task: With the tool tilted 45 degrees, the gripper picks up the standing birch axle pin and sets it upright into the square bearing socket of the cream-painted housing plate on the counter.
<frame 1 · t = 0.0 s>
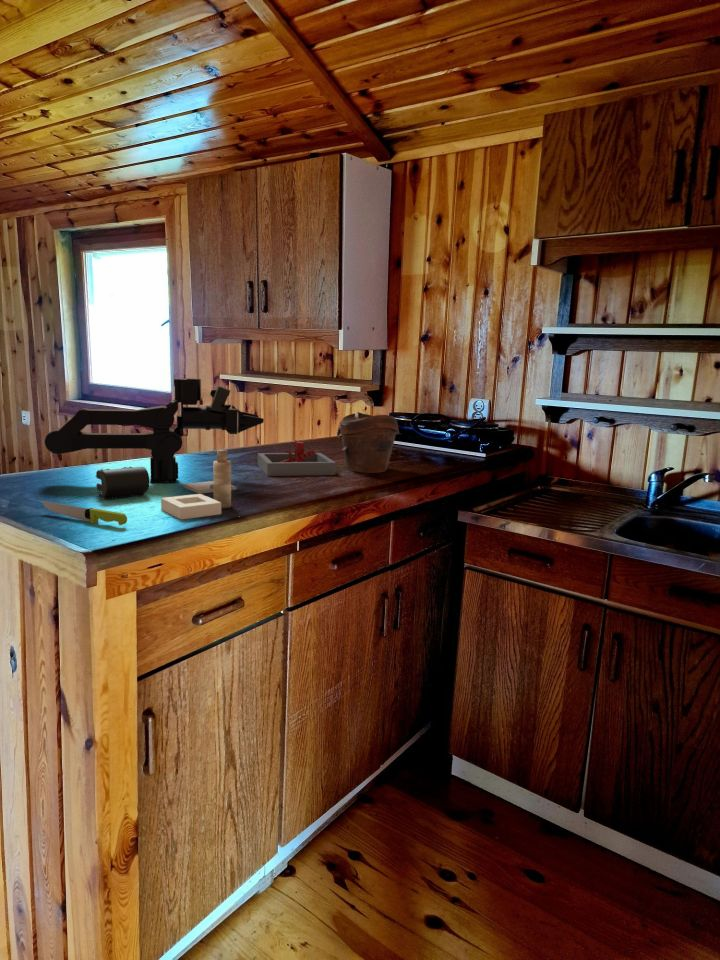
hand: (260, 418, 169), 17 cm above the counter, tool horizontal, fingers open, 9 cm apart
birch pin: (222, 506, 139), on the counter
gray square tray: (295, 469, 189), on the counter
bearing plate: (191, 511, 133), on the counter
kitchen knife: (82, 522, 123), on the counter
brown tapered pot: (365, 470, 194), on the counter
end cap: (122, 497, 145), on the counter
lid panel: (209, 488, 157), on the counter
diorama: (294, 468, 189), touching gray square tray
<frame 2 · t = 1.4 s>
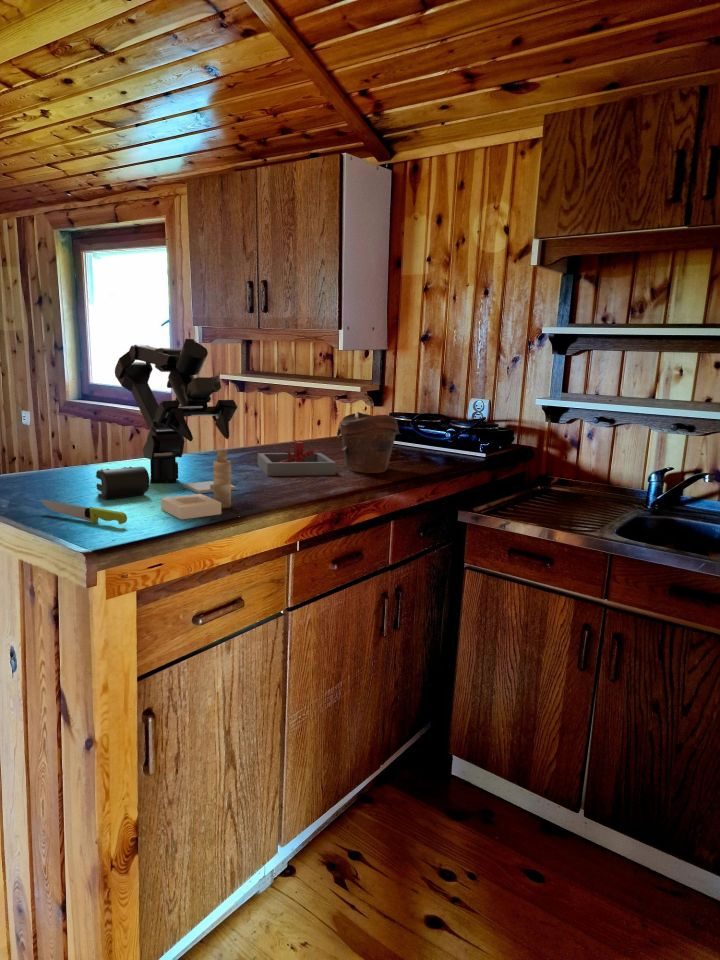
hand: (210, 439, 144), 14 cm above the counter, tool tilted 45°, fingers open, 9 cm apart
nothing on the counter moved.
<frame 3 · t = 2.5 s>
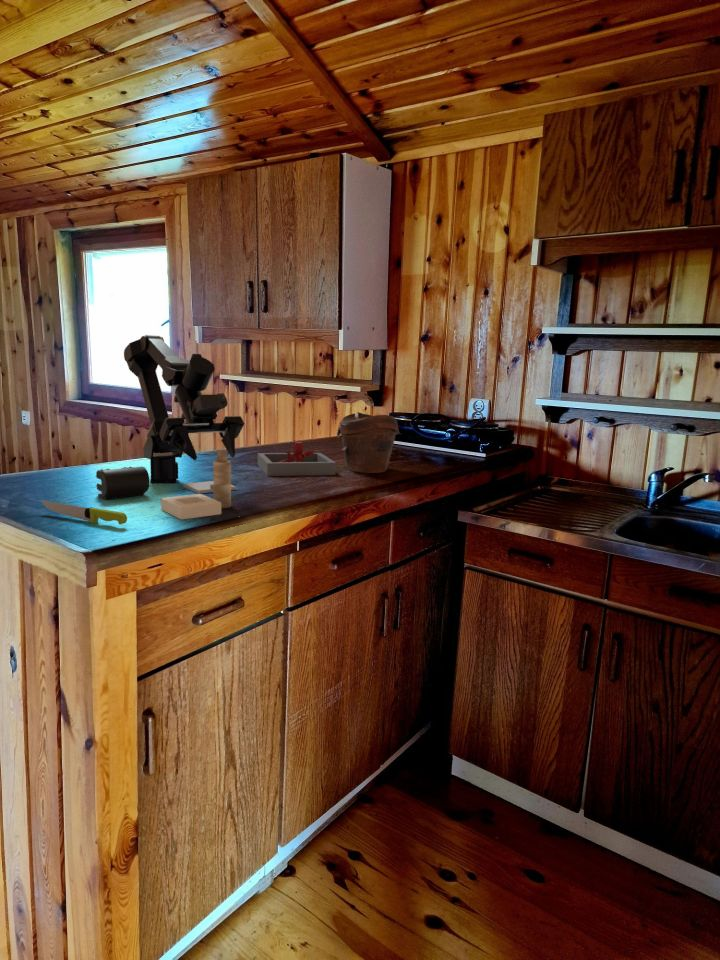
hand: (215, 457, 140), 10 cm above the counter, tool tilted 45°, fingers open, 9 cm apart
nothing on the counter moved.
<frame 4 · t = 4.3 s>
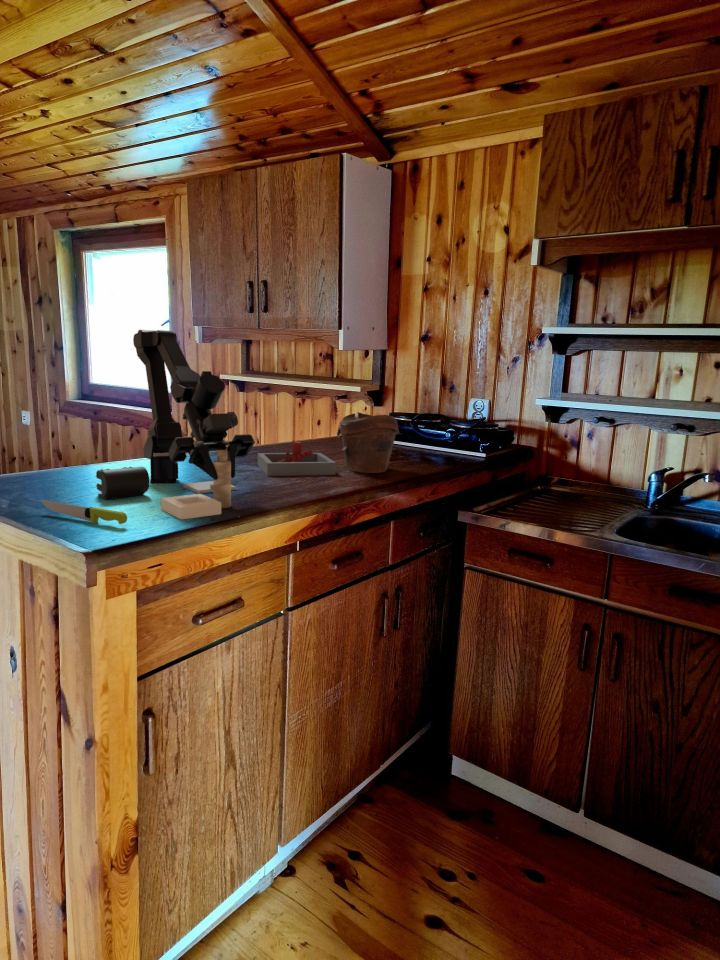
hand: (225, 478, 137), 7 cm above the counter, tool tilted 45°, fingers closed on birch pin, 4 cm apart
birch pin: (222, 506, 139), on the counter, touching gripper
everything else where it was.
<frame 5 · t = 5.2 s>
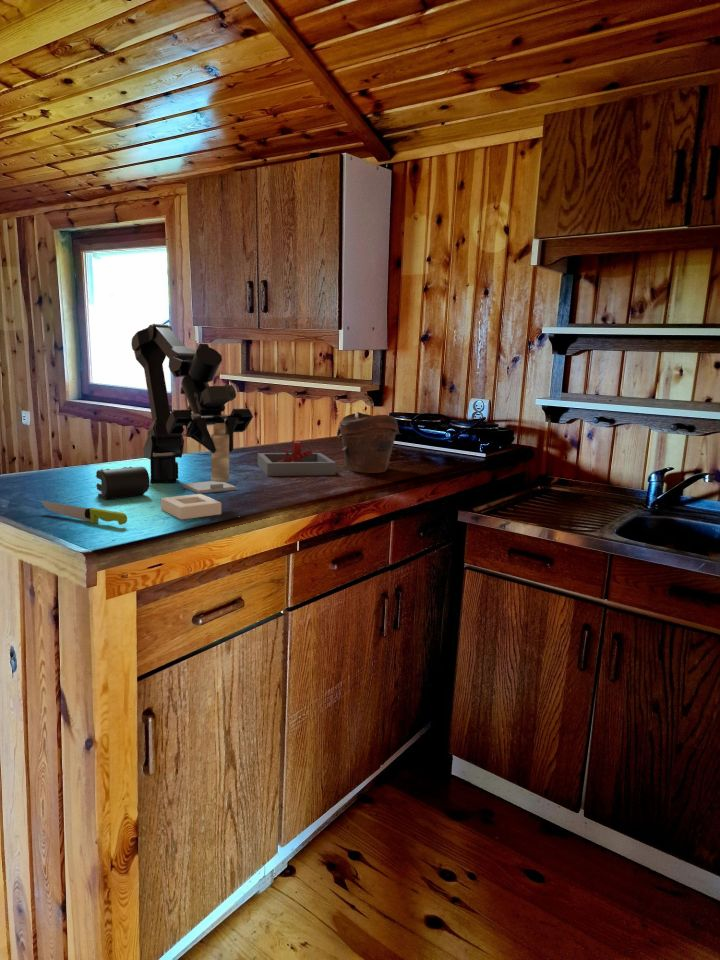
hand: (223, 451, 136), 13 cm above the counter, tool tilted 45°, fingers closed on birch pin, 4 cm apart
birch pin: (220, 480, 138), point 6 cm above the counter, touching gripper
everything else where it was.
when the fingers open (8 cm above the counter, at t = 6.9 s): birch pin drops 1 cm, resting in bearing plate.
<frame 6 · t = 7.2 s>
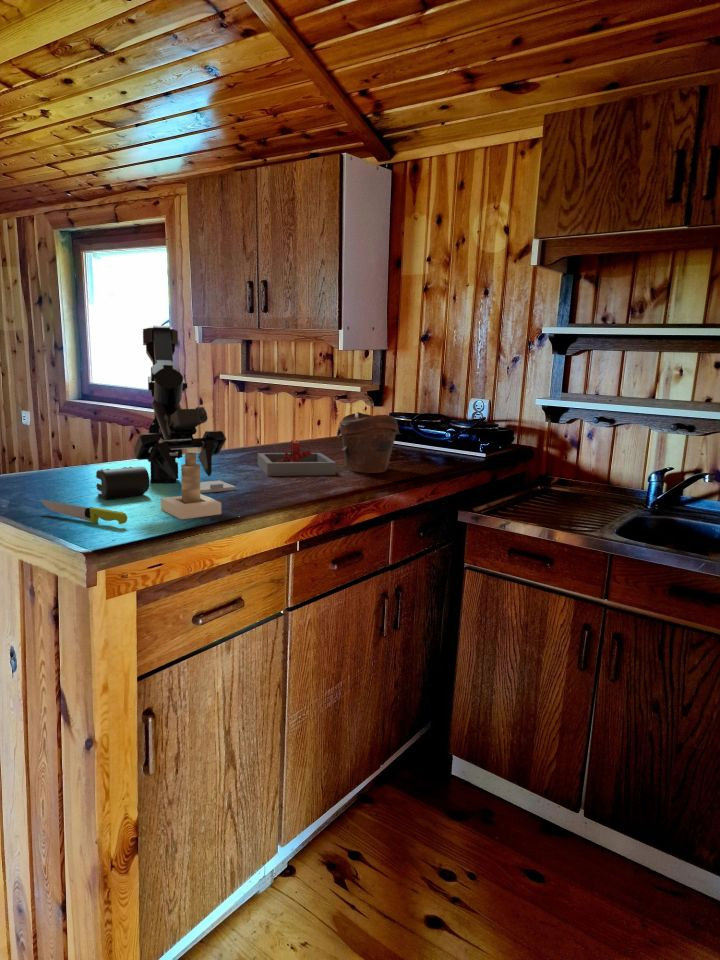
hand: (193, 476, 131), 8 cm above the counter, tool tilted 45°, fingers open, 7 cm apart
birch pin: (191, 511, 133), resting in bearing plate
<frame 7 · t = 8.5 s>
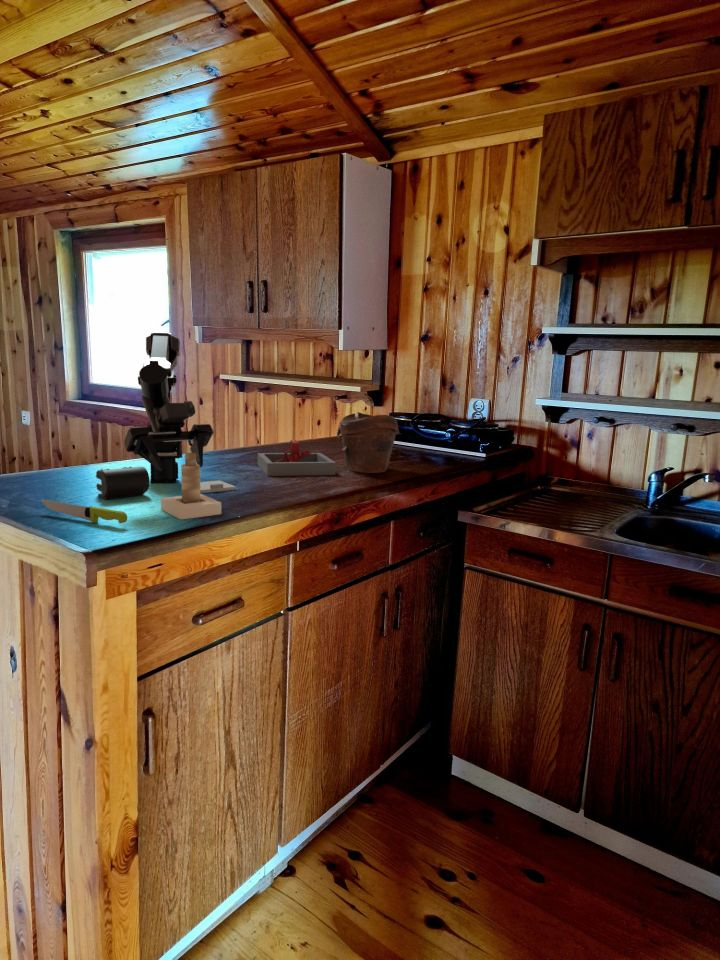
hand: (181, 468, 135), 9 cm above the counter, tool tilted 45°, fingers open, 9 cm apart
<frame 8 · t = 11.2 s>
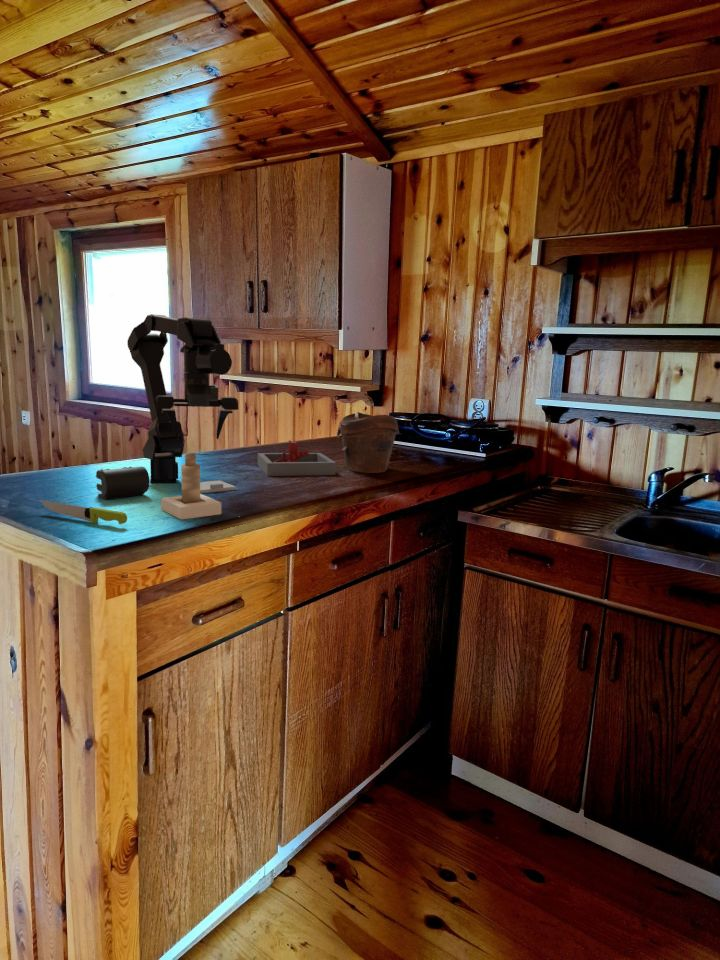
hand: (197, 438, 150), 13 cm above the counter, tool pointing down, fingers open, 9 cm apart
at the end: birch pin 0.0 cm from the bearing plate (horizontally); birch pin resting in bearing plate; birch pin tilted 0° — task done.
